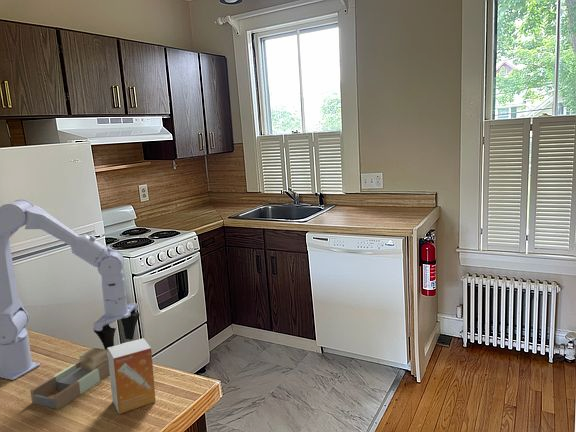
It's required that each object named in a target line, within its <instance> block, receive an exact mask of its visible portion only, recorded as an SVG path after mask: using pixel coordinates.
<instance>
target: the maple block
mask: <svg viewBox="0 0 576 432" xmlns="http://www.w3.org/2000/svg"><path fill="white" fill-rule="evenodd" d="M78 359H79V360H80V366H81V369H85V370H90V371H93V370H94V369H96V368H97V367H99V366H101V365H102V364H104V363H105V362H107V361H108V353H107V350H105V348H98V347H91V348H90V349H88V350H87V351H85V352H82V353H81V354H79V356H78Z"/></svg>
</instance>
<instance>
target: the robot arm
mask: <svg viewBox="0 0 576 432" xmlns="http://www.w3.org/2000/svg"><path fill="white" fill-rule="evenodd" d="M23 227H24V230H42V231H43V232H45V233H47V234H49V235H50V236H52V237H54V238H55V239H58V240H59V241H61V242H63V243H65V244H66V245H68V246H70V248H71V253H72V254H73V255H74V256H76V257H78V258H80V259H81V260H83V261H84V262H86V263H88V264H89V265H90V266H92V267H95V268H96V269H97V273H98V274H99V275H101V290H102V299H103V307H104V308H103V309H104V314H103V315H102V316H100V317H99V318H98V319H97V320H96V321H94V322H93V323H92V325H93V333H95V334H96V335H97V337H98V338H99V340H100V341H101V343H102V346H103V349H105V350H107V348H108V347H112V346H115V344H114V342H115V341H114V339H115V332H116V328H115V327H111V325H112V324H113V323H114V322H117V321H119V320H120V321H121V324H122V327H123V328H122V329H123V334H124V337H125V340H129V341H130V340H131V341H133V340H134V338H135V337H134V336H135V331H136V327H137V326H136V325H137V322H138V320H139V318H140V315H141V314H140V312H138V311H139V304H138V303H135V302H131V303H129V304H128V301H127V299H128V298H127V289H126V281H125V280H126V279H125V273H124V269H123V267H124V265H125V259H124V256H123V254H122V253H120V252H119V250H116V249H113V248H112V247H110V246H109V247H107V246H106V245H104V244H102V243H101V242H99V241H97V240H96V239H97V237H96V236H95V235H94V234H93V235H91V236H90V235H89V234H83V235H80V234H78V233H76V232H75V231H73V229H71V228H69V227H68V226H66V225H65V224H64V223H62V222H61V221H59V219H57V218H56V217H54V216H53V215H51V214H49V212H47V211H45V210H44V209H43V208H42V207H40V206H38V205H35V204H33V202H32V201H30V200H28V199H23V198H22V199H16V200H14V201H12V202H10V203H9V202H8V203H5V204H2V205H1V206H0V378H2V379H6V380H11V381H15V380H16V379H18V378H21V377H22V376H23V375H25V374H27V373H28V372H31V371H33V370H34V369H36V368H37V367H39V366H41V363H40V362H36V361H33V360H32V353H31V346H30V340H29V332H28V331H27V329H26V326H27V325H28V323H29V321H30V316H29V313H28V311H26V309H25V307H24V302H23V301H22V300H21V299H19V293H18V288H17V287H18V286H17V281H16V276H15V270H14V262H13V255H12V249H11V243H10V239H11V237H12V236H14V234H16V233H17V231H18V230H19V229H20V228H23Z"/></svg>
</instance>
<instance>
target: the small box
mask: <svg viewBox="0 0 576 432" xmlns="http://www.w3.org/2000/svg"><path fill="white" fill-rule="evenodd" d="M107 355H108V362H109V372H110V374H109V382H110V389H111V390H110V391H111V398H112V403H113V405H114V407H115V409H116V412H117V413H118V415H121V414H124V413H126V412H129V411H133V410H135V409H138V408H141V407H144V406H146V405H149V404H154V403H156V392H155V391H156V390H155V389H156V388H155V377H154V363H153V354H152V347H151V346H150V345H149V343H148V342H147V341H146V339H145V338H144V337H143V338H139V339H135V340H131V341H130V340H129V341H126V342H123V343H120V344H117V345H114V346H112V347H108V348H107Z"/></svg>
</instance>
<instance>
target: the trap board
mask: <svg viewBox="0 0 576 432" xmlns="http://www.w3.org/2000/svg"><path fill="white" fill-rule="evenodd" d="M108 376H110V372H109V362H108V361H107V362H105V363H104V364H102V365H101V366H99V367H97V368H96V369H94V370H93V371H90V370H85V369H81V366H80V359H79V360H78V361H76V362H75V363H72V364H71V365H70V366H68V367H66V368H64V369H63V370H61V371H59V372H58V373H56V374H54V375H53V376H51V377H49V378H48V379H45V381H43V382H41V383H40V384H39V383H38V385H36V386H34V387H33V388H32V389H30V391H29V392H30V397H31V403H32V404H35V405H38V406H43V407H47V408H50V409H54V410H60V409H62V408H63V407H65V406H66V405H68V404H69V403H70V402H72V401H74V400H75V399H76V398H78V397H79V396H81V395H82V394H83V393H85V392H86V391H88V390H89V389H91V388H92V387H94V386H95V385H97V384H98V383H100V381H102V380H104V379H105V378H107V377H108ZM57 390H58V391H59V392H57V393H56V394H54V398H53V397H48V396H49V395H51V394H52V393H54V392H55V391H57Z"/></svg>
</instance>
